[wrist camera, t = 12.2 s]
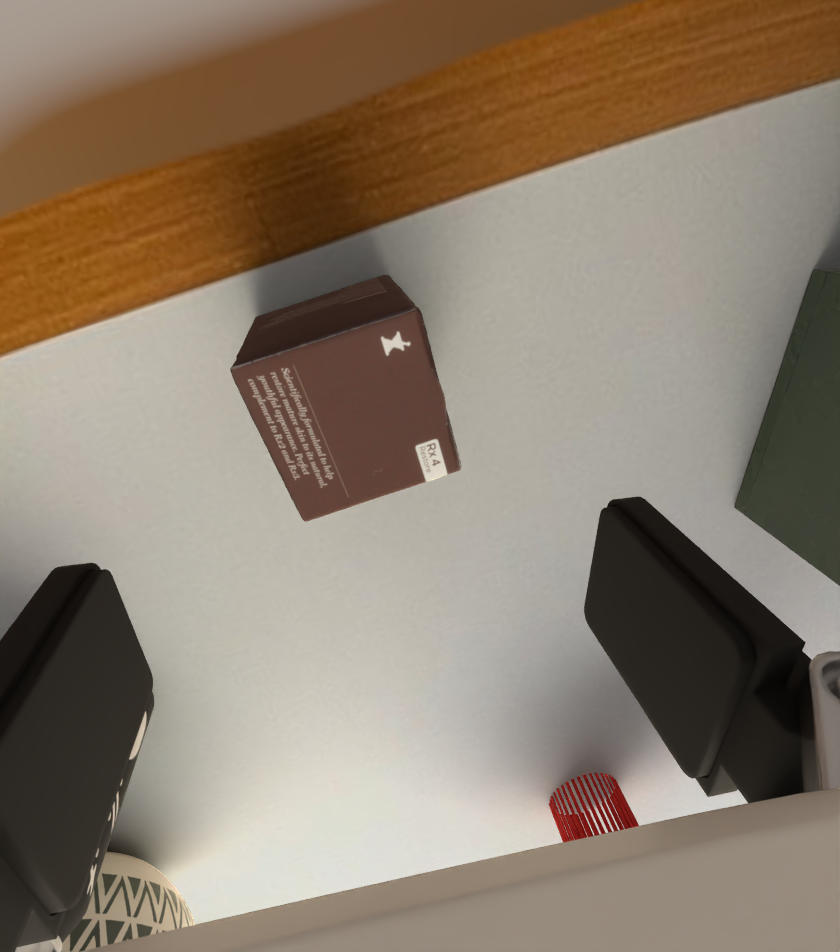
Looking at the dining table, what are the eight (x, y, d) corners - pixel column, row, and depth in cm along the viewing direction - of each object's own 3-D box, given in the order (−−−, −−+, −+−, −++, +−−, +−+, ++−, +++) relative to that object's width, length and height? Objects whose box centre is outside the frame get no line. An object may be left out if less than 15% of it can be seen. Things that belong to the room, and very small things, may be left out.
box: (251, 313, 21) (222, 364, 15) (390, 270, 21) (421, 301, 15) (306, 440, 24) (301, 526, 18) (426, 401, 24) (465, 474, 18)
